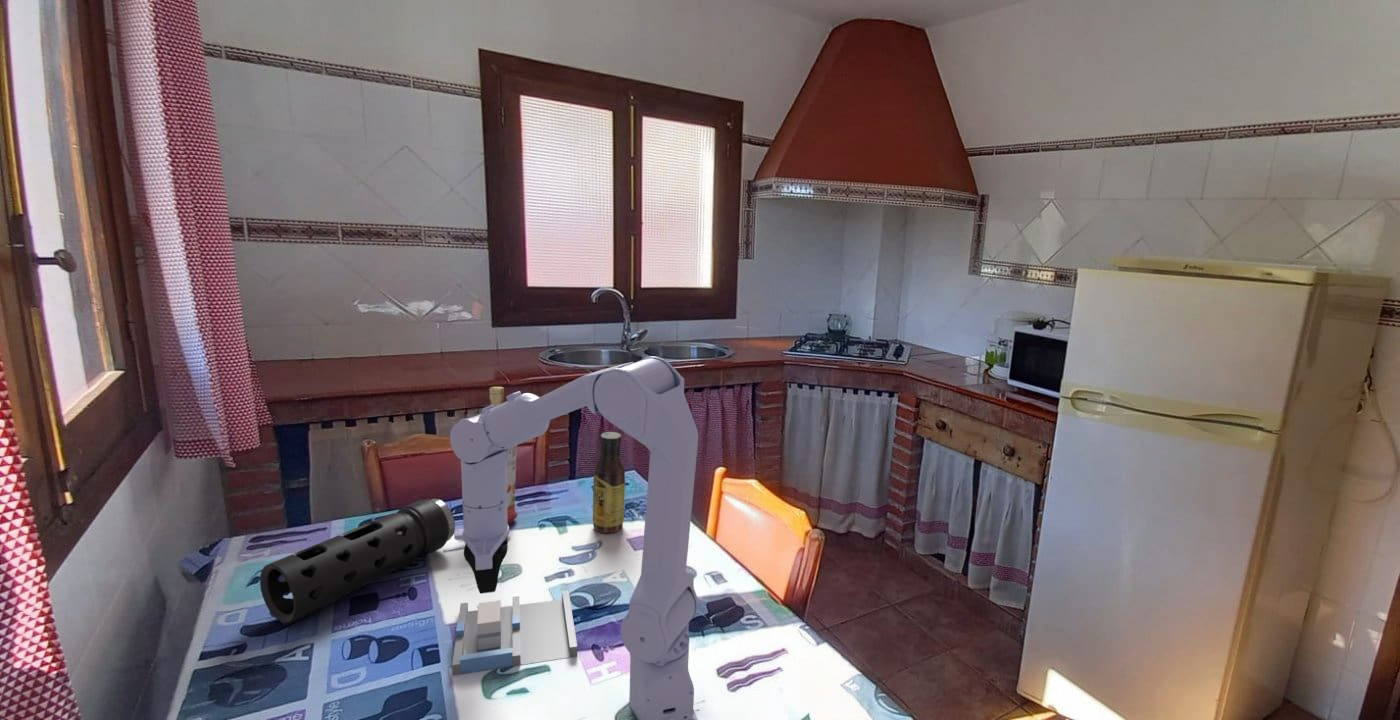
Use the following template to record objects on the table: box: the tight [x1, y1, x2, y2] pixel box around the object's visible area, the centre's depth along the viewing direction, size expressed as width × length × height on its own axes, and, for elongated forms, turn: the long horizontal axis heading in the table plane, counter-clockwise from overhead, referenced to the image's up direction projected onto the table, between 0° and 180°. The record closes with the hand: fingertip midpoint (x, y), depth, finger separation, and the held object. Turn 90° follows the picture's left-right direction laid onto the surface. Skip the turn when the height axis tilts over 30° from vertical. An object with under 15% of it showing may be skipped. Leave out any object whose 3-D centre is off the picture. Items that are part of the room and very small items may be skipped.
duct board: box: [451, 589, 578, 677], centre depth 88 cm, size 14×16×3 cm
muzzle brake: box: [259, 498, 456, 626], centre depth 100 cm, size 10×28×10 cm, turn 152°
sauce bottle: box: [592, 431, 626, 534], centre depth 121 cm, size 7×6×20 cm
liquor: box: [489, 386, 518, 526], centre depth 121 cm, size 7×7×28 cm
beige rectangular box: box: [477, 600, 502, 650], centre depth 87 cm, size 5×3×4 cm, turn 18°
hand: (487, 590), depth 86 cm, fingers closed
